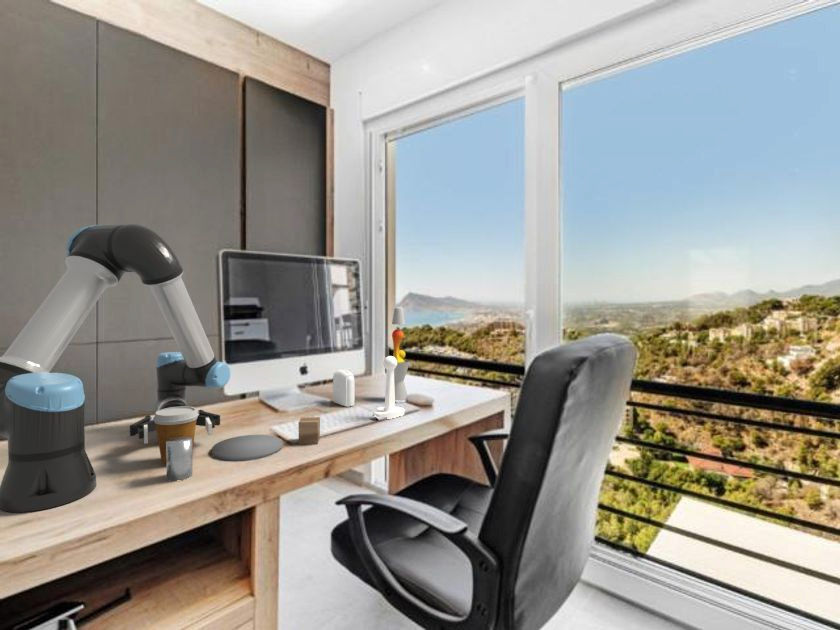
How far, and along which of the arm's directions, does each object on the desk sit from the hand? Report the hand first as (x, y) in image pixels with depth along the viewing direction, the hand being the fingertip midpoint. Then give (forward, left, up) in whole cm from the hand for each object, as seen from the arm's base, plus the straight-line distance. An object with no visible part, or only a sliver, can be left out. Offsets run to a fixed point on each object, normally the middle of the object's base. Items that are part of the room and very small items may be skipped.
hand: (179, 433), depth 110 cm
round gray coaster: (+11, -11, -6) cm, 17 cm away
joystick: (+51, -35, -7) cm, 62 cm away
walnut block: (+21, -23, -6) cm, 32 cm away
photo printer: (+62, -15, -7) cm, 64 cm away
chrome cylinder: (-8, -8, -6) cm, 13 cm away
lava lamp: (+73, -32, -7) cm, 80 cm away
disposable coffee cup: (-1, 0, -7) cm, 7 cm away
